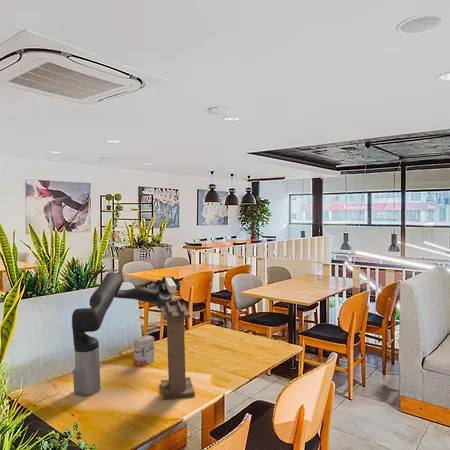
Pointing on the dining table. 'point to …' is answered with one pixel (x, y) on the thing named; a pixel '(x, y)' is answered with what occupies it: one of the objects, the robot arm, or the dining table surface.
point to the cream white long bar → (170, 284)
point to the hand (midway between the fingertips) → (168, 278)
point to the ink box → (143, 350)
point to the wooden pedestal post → (176, 353)
